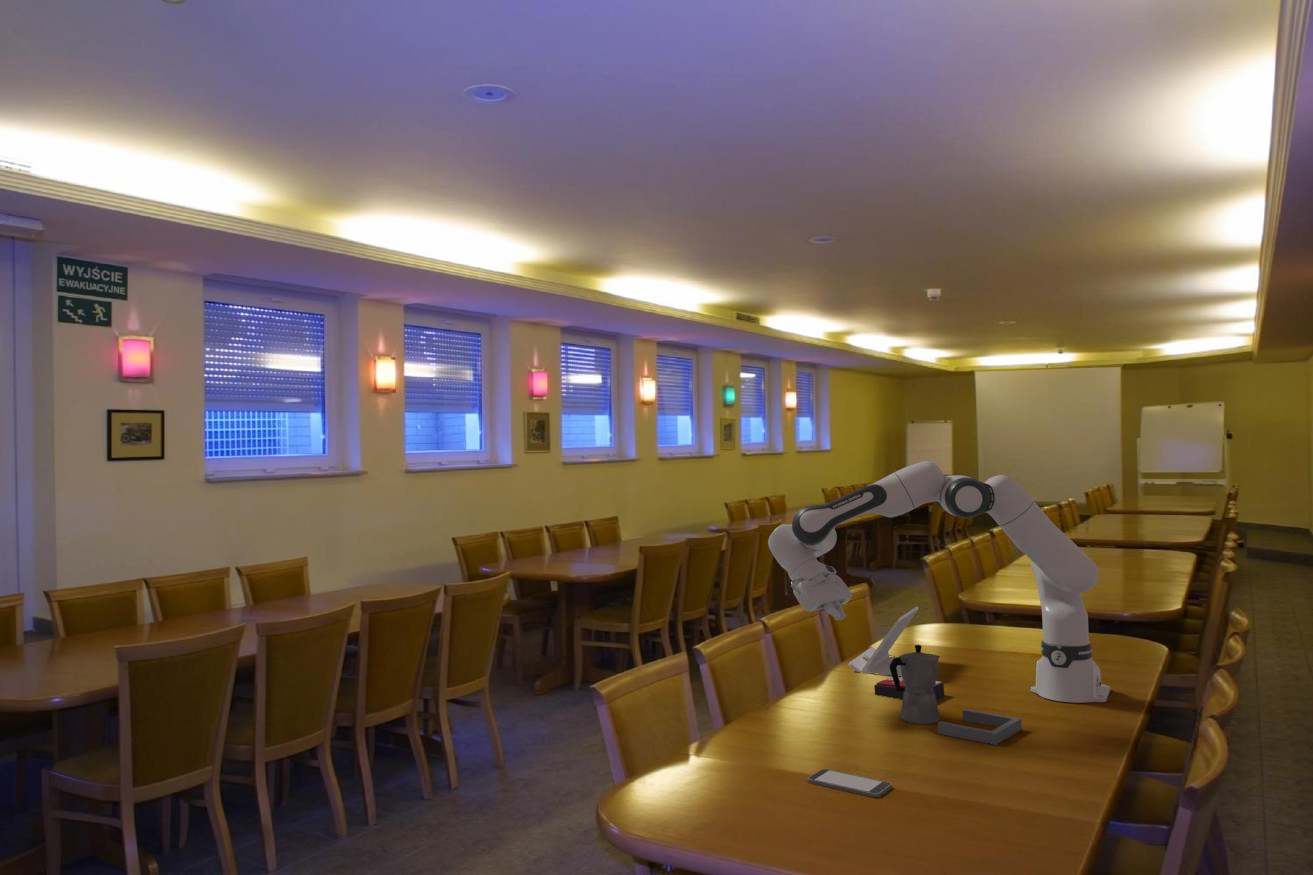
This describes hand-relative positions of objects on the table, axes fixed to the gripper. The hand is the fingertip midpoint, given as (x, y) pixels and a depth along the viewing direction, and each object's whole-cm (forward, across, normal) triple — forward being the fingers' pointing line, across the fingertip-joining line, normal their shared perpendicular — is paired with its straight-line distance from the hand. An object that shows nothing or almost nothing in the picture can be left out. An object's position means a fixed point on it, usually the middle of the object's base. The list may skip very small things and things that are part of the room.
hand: (841, 618), depth 236 cm
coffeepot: (+31, -1, 0) cm, 31 cm away
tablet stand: (+8, +47, +23) cm, 53 cm away
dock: (+42, -2, -12) cm, 43 cm away
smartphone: (+39, -50, -6) cm, 64 cm away
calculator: (+23, +19, +9) cm, 31 cm away
